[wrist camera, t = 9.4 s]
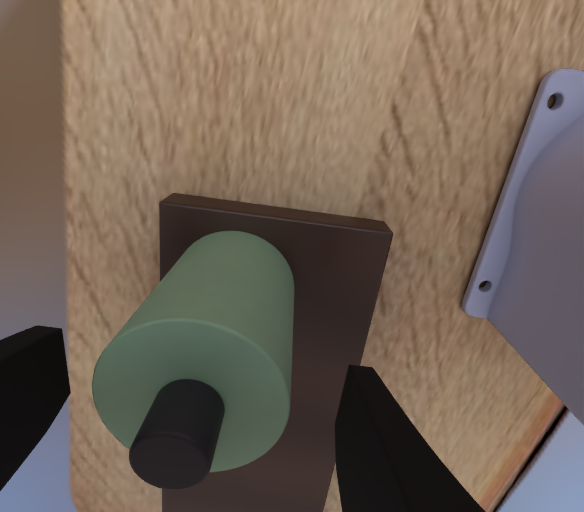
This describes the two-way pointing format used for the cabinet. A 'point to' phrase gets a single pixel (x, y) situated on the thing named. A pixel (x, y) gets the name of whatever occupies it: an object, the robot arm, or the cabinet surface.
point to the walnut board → (306, 342)
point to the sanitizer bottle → (203, 363)
